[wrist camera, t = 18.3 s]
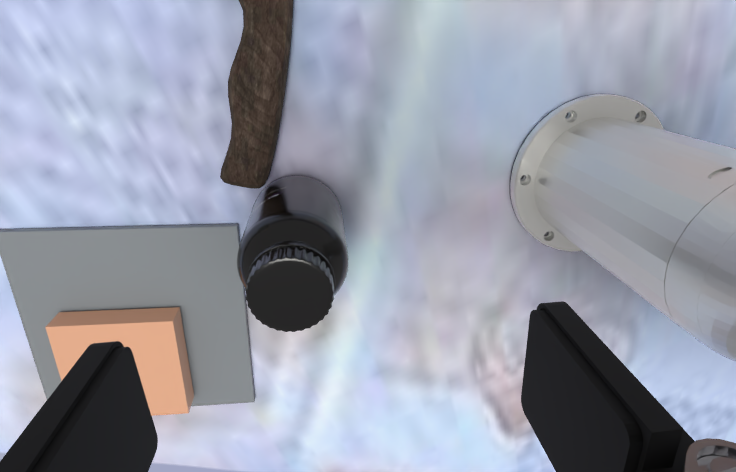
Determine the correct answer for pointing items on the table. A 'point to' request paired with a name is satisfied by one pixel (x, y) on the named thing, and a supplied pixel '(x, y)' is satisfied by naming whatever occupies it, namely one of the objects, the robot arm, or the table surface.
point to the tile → (146, 340)
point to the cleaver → (257, 91)
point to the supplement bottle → (293, 253)
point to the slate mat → (139, 292)
